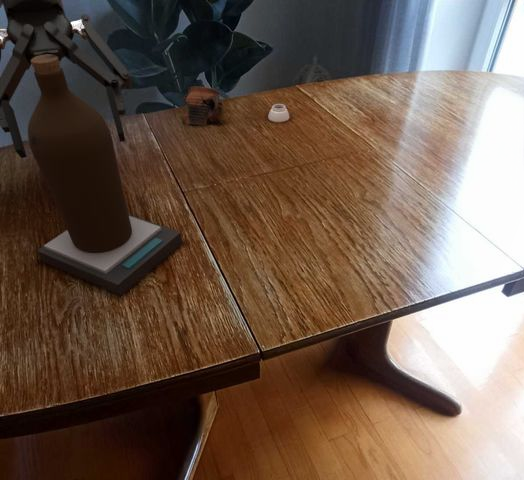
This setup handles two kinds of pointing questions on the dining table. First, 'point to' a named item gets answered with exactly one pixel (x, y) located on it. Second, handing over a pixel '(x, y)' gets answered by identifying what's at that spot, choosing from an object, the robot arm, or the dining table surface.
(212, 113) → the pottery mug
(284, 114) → the lidless jar
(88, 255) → the kitchen scale
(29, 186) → the dining table surface
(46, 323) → the dining table surface
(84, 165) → the olive oil
